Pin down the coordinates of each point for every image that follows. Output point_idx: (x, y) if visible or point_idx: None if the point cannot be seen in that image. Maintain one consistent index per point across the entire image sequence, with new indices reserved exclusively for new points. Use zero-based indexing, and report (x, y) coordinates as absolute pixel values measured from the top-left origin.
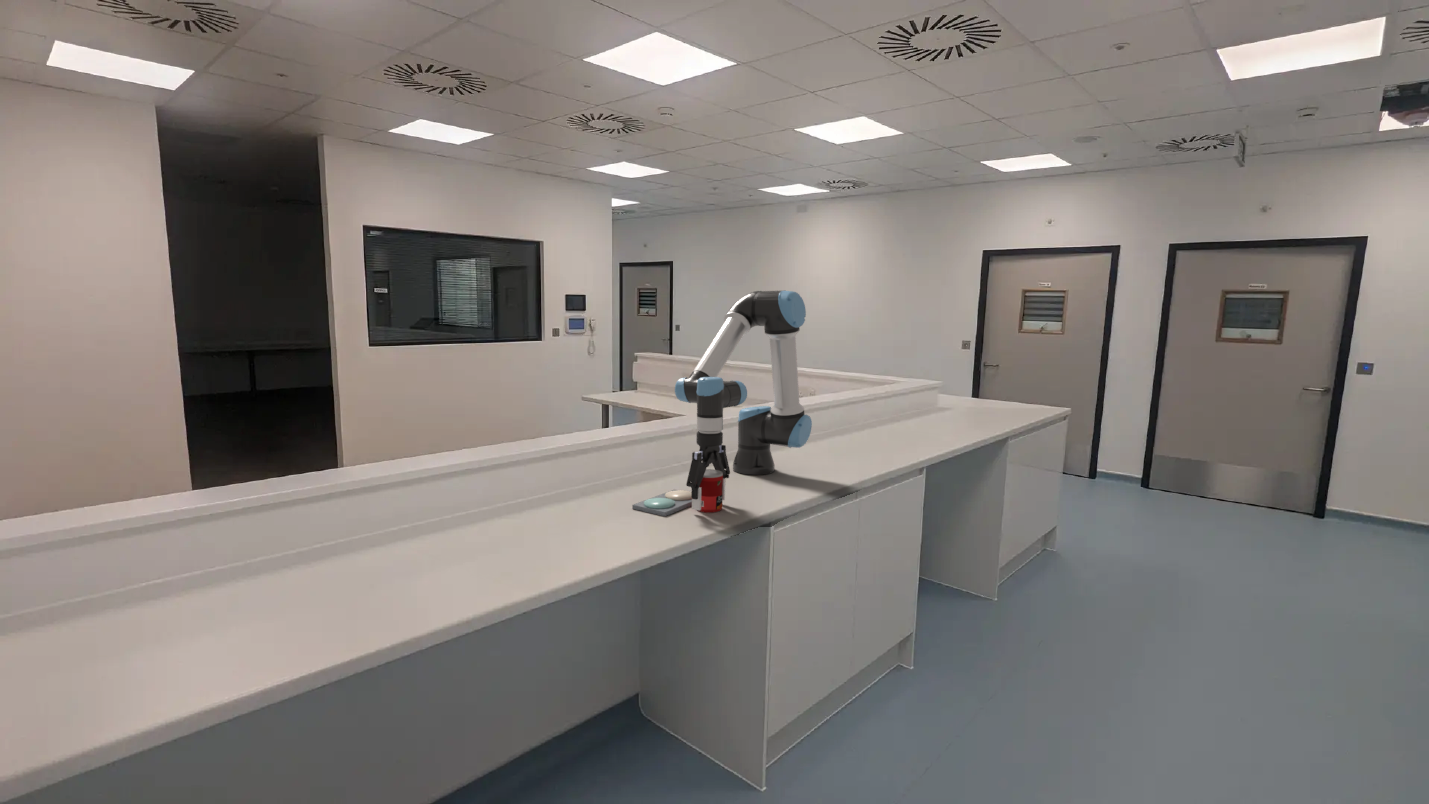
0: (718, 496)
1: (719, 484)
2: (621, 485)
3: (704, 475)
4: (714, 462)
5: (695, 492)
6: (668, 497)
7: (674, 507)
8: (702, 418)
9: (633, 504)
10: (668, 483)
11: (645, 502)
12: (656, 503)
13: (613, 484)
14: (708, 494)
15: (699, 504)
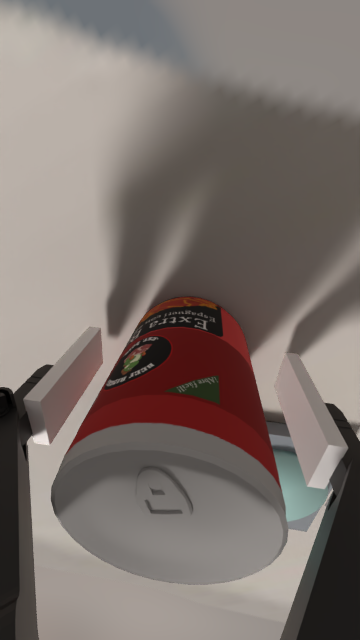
0: (207, 331)
1: (198, 375)
2: (131, 573)
3: (287, 532)
4: (30, 621)
5: (357, 440)
6: None
7: (283, 441)
8: None
9: (302, 530)
10: (41, 516)
11: (290, 518)
12: (287, 494)
13: (135, 583)
14: (255, 380)
15: (306, 372)
